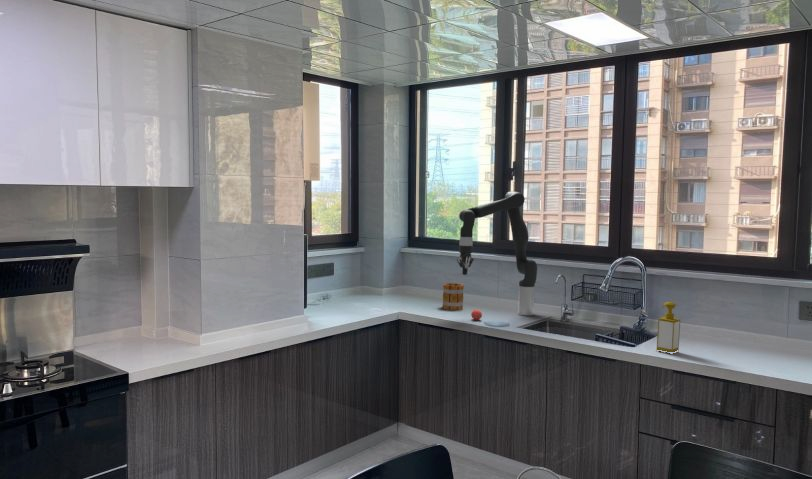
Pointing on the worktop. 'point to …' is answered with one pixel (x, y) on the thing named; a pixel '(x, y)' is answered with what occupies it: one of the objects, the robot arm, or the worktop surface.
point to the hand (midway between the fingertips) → (464, 274)
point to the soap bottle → (668, 330)
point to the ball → (476, 314)
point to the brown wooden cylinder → (452, 296)
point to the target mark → (496, 323)
